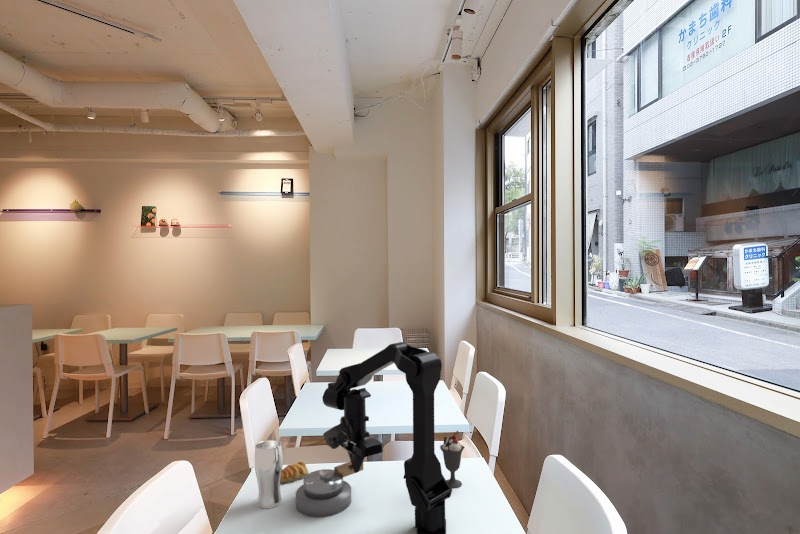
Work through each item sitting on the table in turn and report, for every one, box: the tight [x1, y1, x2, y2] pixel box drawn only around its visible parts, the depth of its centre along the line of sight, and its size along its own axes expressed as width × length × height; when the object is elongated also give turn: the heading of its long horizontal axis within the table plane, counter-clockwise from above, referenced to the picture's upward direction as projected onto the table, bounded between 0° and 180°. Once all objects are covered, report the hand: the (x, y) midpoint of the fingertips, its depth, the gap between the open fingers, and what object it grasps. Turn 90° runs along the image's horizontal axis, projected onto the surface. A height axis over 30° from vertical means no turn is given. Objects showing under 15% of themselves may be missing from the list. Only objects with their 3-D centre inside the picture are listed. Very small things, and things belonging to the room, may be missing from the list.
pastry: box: [280, 461, 310, 485], centre depth 134 cm, size 9×7×4 cm
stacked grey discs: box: [295, 480, 352, 518], centre depth 120 cm, size 14×14×3 cm
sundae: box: [439, 430, 465, 489], centre depth 128 cm, size 7×7×15 cm
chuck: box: [302, 460, 364, 499], centre depth 122 cm, size 17×10×5 cm, turn 131°
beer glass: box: [254, 439, 284, 510], centre depth 120 cm, size 7×7×15 cm
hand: (356, 472), depth 124 cm, fingers closed
